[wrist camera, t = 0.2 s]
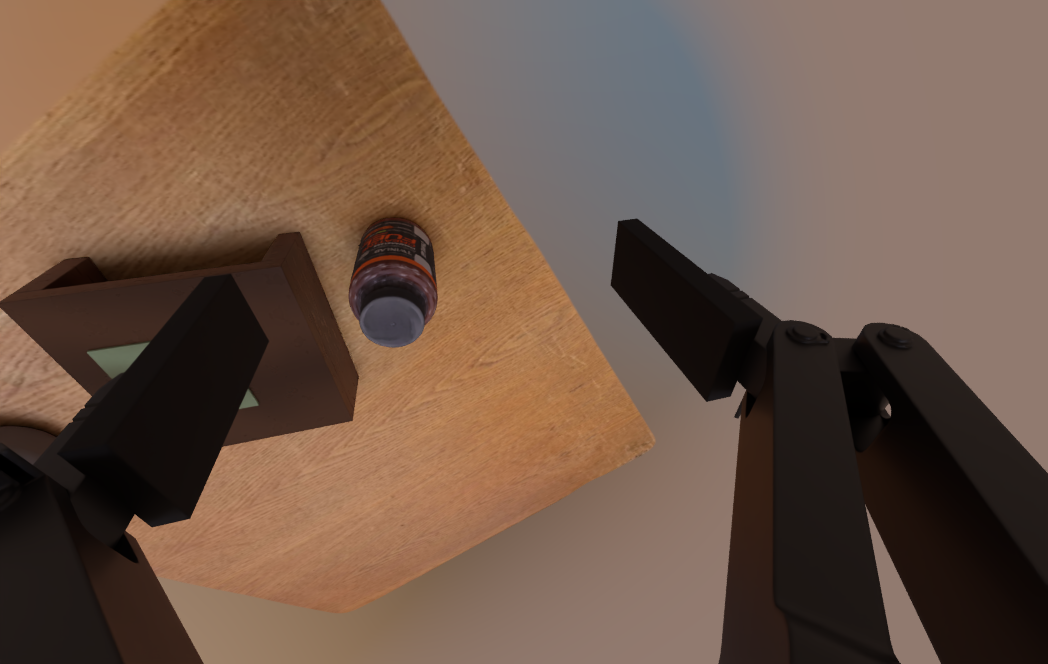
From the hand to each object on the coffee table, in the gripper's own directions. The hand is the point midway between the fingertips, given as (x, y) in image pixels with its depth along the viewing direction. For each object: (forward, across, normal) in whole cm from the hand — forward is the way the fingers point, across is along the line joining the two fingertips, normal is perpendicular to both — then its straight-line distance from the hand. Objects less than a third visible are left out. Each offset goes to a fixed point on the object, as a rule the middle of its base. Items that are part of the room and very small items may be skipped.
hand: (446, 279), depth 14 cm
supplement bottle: (+20, -4, -8) cm, 22 cm away
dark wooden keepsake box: (+20, -19, -13) cm, 30 cm away
